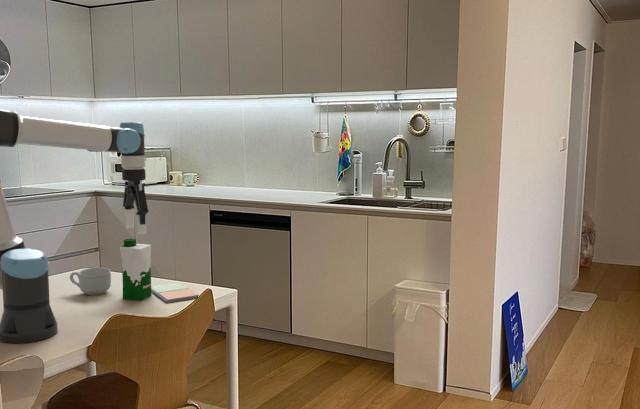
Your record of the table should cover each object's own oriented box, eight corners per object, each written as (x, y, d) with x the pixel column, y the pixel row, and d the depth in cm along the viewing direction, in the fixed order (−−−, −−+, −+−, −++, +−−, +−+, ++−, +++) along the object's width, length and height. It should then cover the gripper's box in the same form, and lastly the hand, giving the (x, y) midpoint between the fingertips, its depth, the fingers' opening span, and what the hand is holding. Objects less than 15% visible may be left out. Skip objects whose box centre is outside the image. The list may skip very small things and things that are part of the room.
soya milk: (131, 293, 212) (130, 237, 210) (155, 294, 211) (154, 238, 208) (118, 300, 204) (116, 241, 201) (143, 301, 202) (141, 243, 200)
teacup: (117, 290, 216) (116, 268, 215) (101, 298, 206) (100, 275, 205) (81, 287, 219) (80, 266, 218) (64, 296, 208) (63, 273, 207)
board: (166, 303, 201) (166, 299, 200) (147, 289, 217) (147, 286, 217) (200, 297, 207) (200, 294, 207) (179, 285, 224) (179, 282, 224)
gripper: (156, 170, 193) (159, 235, 196) (133, 165, 214) (136, 224, 217) (133, 171, 189) (136, 237, 192) (112, 166, 210) (114, 226, 213)
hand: (136, 231), depth 204 cm, fingers open, 13 cm apart
